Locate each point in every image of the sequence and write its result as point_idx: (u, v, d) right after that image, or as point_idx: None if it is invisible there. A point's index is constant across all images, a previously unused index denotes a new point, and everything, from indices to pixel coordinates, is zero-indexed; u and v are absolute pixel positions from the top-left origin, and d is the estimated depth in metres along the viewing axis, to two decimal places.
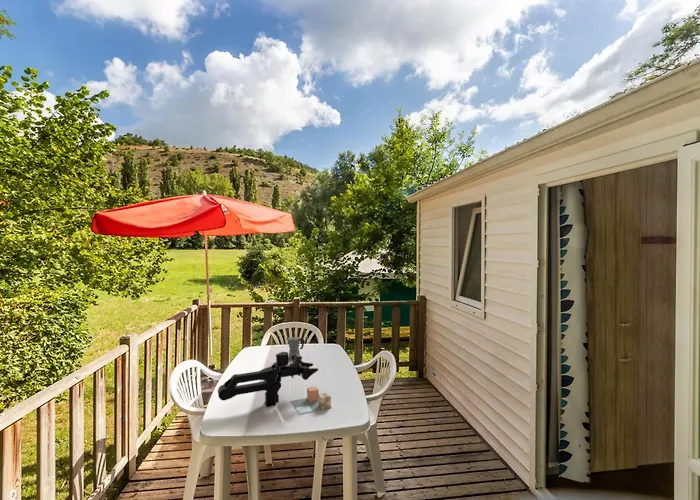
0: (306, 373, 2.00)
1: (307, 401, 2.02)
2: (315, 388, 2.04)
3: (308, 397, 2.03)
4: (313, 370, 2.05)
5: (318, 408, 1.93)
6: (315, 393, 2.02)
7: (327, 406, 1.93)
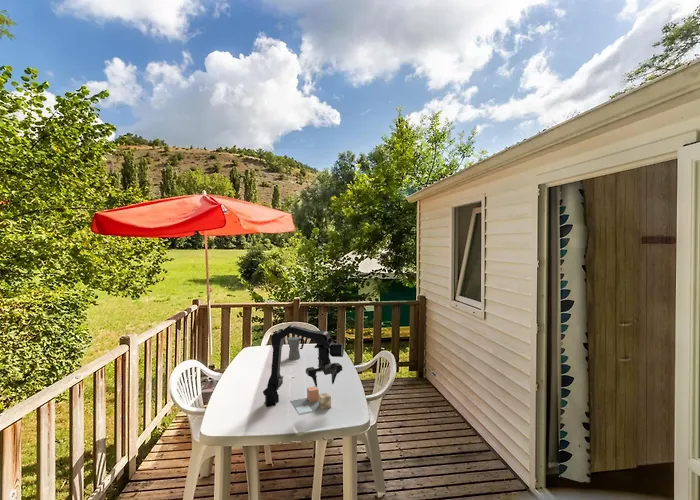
0: (307, 373, 1.91)
1: (307, 401, 2.02)
2: (315, 388, 2.04)
3: (308, 397, 2.03)
4: (314, 381, 1.93)
5: (318, 408, 1.93)
6: (315, 393, 2.02)
7: (327, 406, 1.93)
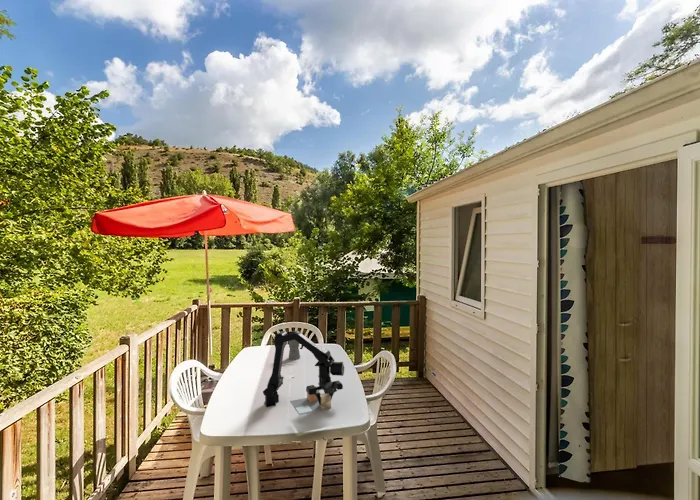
0: (307, 391, 1.91)
1: (307, 401, 2.02)
2: None
3: (308, 397, 2.03)
4: (318, 399, 1.94)
5: (318, 408, 1.93)
6: None
7: (327, 406, 1.93)
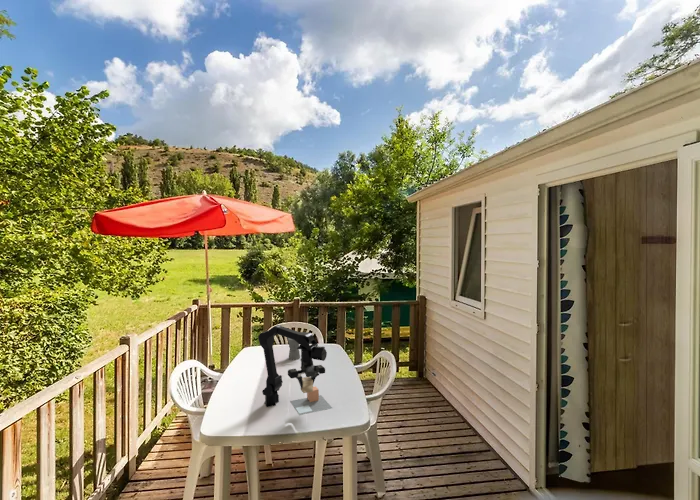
0: (289, 375, 1.88)
1: (307, 401, 2.02)
2: (315, 388, 2.04)
3: (308, 397, 2.03)
4: (299, 383, 1.91)
5: (318, 408, 1.93)
6: (315, 393, 2.02)
7: (309, 390, 1.91)
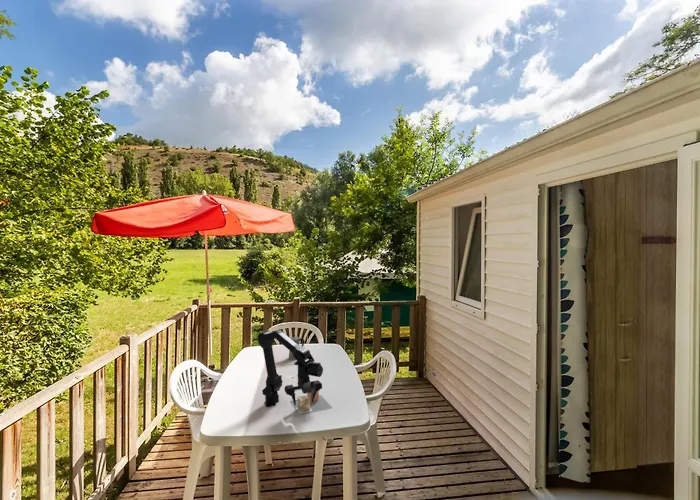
0: (286, 391, 1.88)
1: None
2: None
3: None
4: (293, 399, 1.90)
5: (318, 408, 1.93)
6: None
7: (306, 409, 1.90)
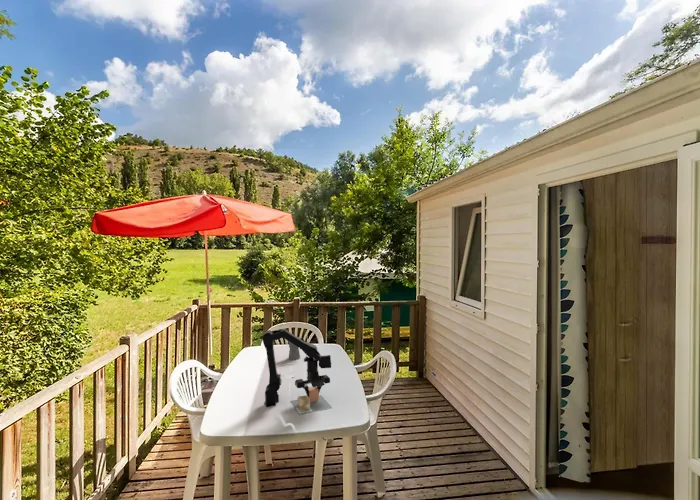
0: (296, 385, 2.00)
1: None
2: (315, 388, 2.04)
3: None
4: (306, 392, 2.03)
5: (318, 408, 1.93)
6: (315, 393, 2.02)
7: (306, 409, 1.90)
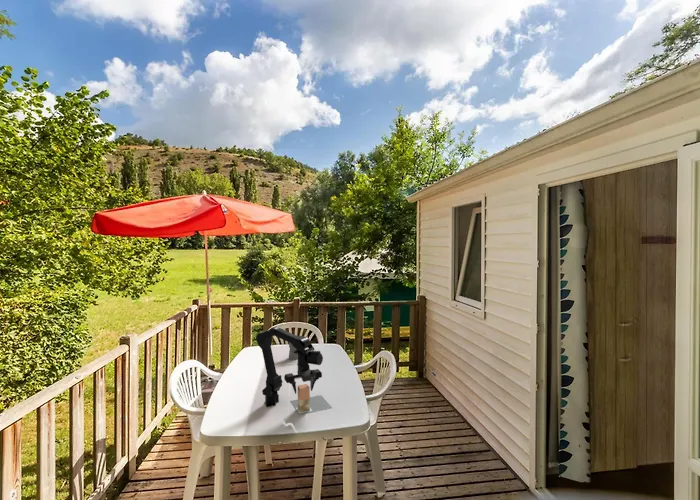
0: (285, 379, 1.88)
1: None
2: (306, 386, 1.92)
3: (298, 395, 1.91)
4: (293, 388, 1.90)
5: (318, 408, 1.93)
6: (306, 391, 1.90)
7: (306, 409, 1.90)
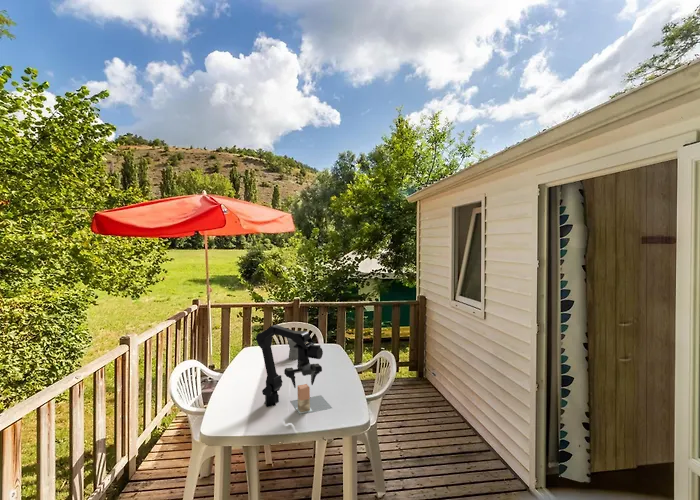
0: (285, 373, 1.88)
1: None
2: (306, 386, 1.92)
3: (298, 395, 1.91)
4: (292, 382, 1.90)
5: (318, 408, 1.93)
6: (306, 391, 1.90)
7: (306, 409, 1.90)
